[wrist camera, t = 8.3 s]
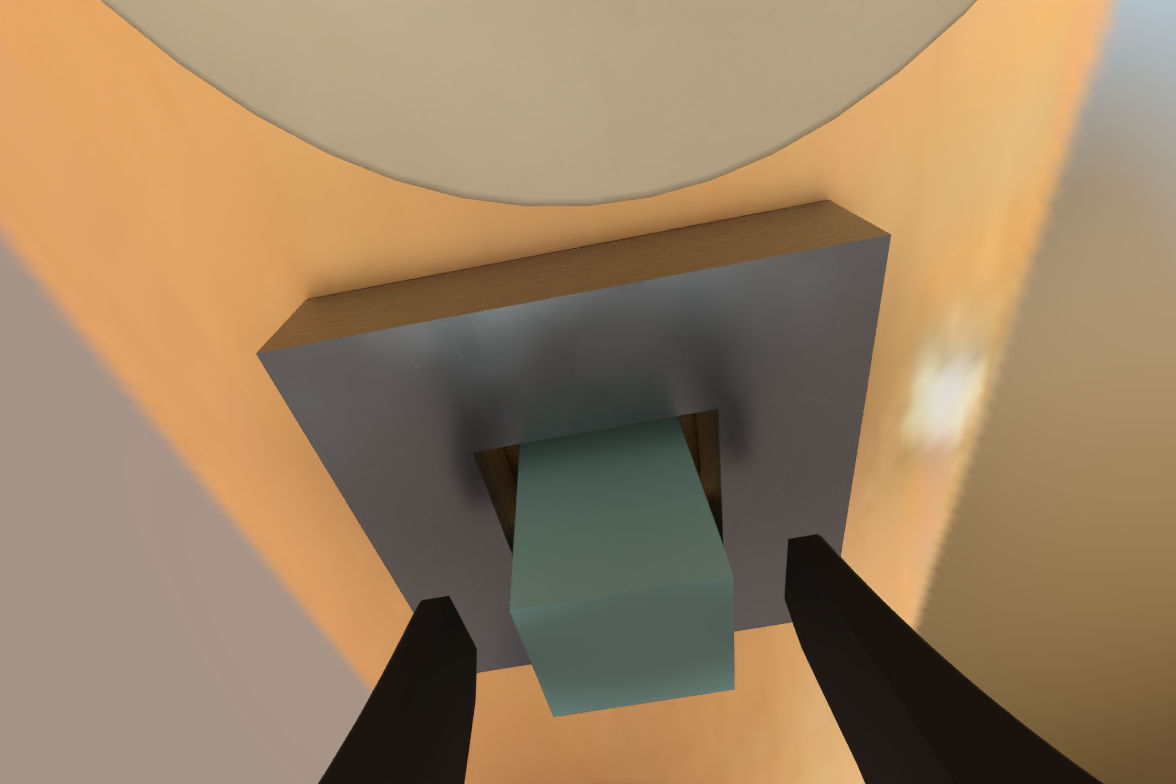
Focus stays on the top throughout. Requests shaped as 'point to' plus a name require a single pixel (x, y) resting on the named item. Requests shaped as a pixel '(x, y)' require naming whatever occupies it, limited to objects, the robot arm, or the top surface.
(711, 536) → the peg block
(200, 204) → the top surface
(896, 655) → the robot arm
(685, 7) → the candle
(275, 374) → the square hole plate
